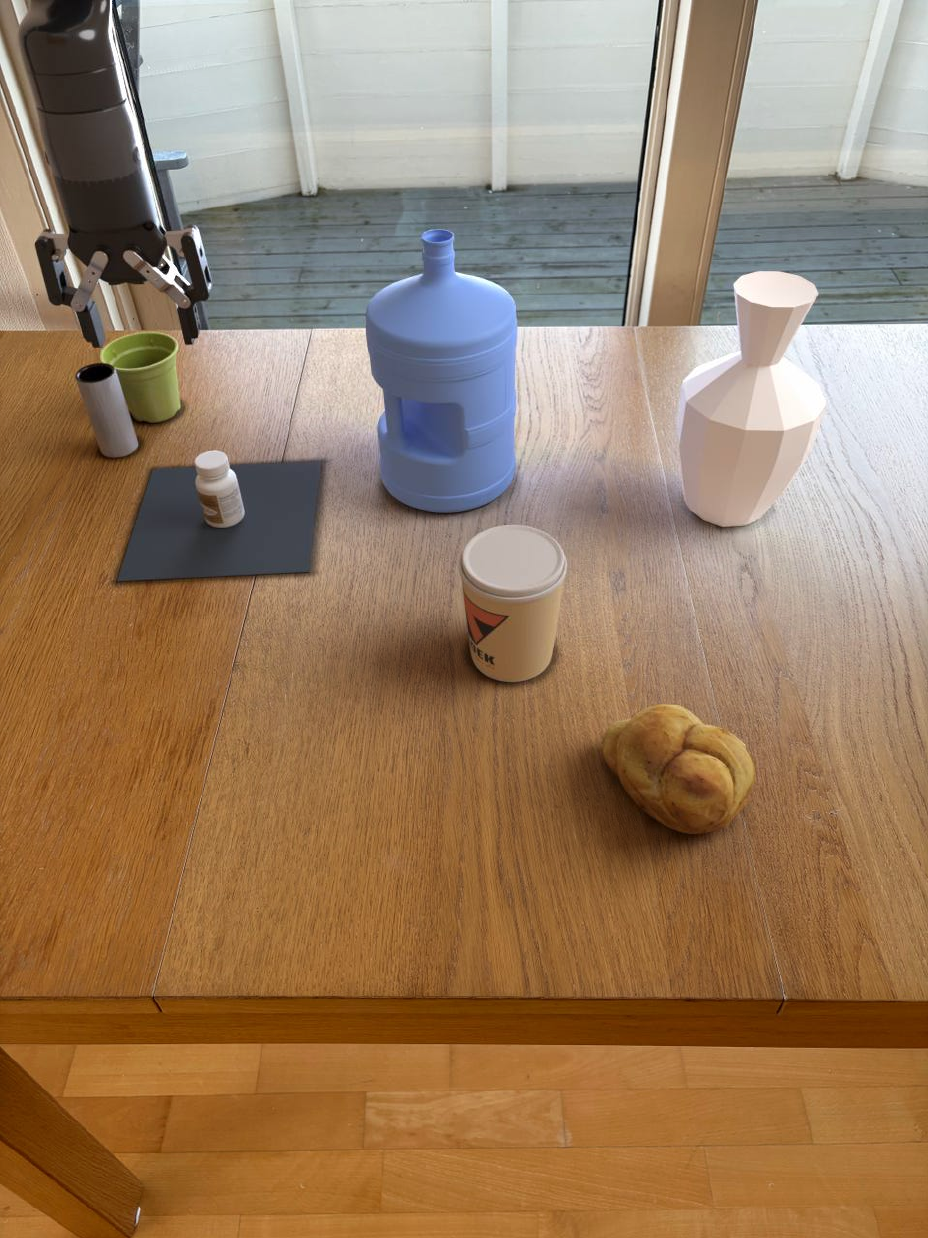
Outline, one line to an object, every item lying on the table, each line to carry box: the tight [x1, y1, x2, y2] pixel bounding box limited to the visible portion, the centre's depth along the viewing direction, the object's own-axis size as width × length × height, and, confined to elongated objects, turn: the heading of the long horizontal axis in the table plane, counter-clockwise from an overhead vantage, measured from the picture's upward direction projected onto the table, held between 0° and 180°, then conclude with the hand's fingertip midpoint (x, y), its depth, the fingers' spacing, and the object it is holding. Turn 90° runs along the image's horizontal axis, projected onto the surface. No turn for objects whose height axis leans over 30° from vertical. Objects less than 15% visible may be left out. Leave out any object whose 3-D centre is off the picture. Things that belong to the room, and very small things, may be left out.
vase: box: [675, 270, 828, 528], centre depth 97 cm, size 14×14×25 cm
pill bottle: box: [194, 449, 245, 528], centre depth 103 cm, size 4×4×8 cm
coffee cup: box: [458, 524, 568, 683], centre depth 86 cm, size 9×9×12 cm
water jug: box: [365, 228, 518, 514], centre depth 101 cm, size 16×16×28 cm
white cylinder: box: [74, 362, 139, 459], centre depth 113 cm, size 4×4×10 cm
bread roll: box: [601, 703, 756, 835], centre depth 76 cm, size 13×10×8 cm
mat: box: [116, 460, 322, 583], centre depth 106 cm, size 20×20×1 cm
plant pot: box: [98, 331, 182, 424], centre depth 119 cm, size 9×9×9 cm
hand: (145, 342), depth 89 cm, fingers open, 8 cm apart
